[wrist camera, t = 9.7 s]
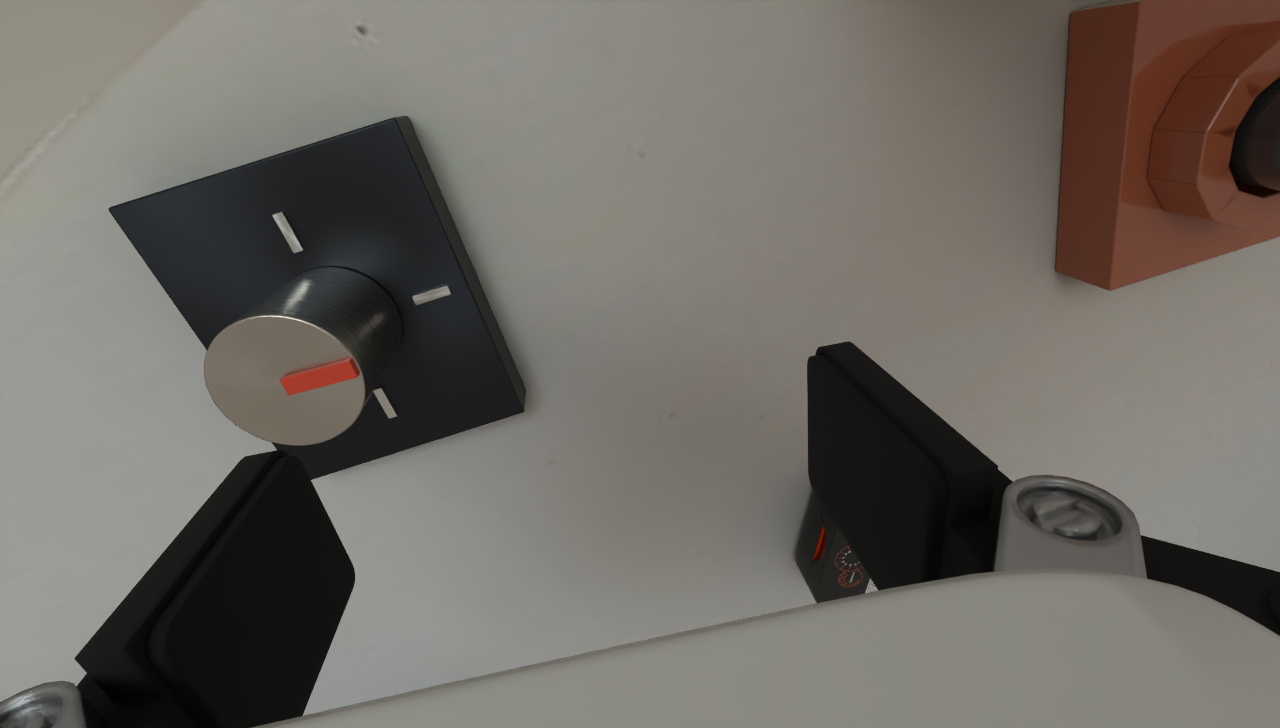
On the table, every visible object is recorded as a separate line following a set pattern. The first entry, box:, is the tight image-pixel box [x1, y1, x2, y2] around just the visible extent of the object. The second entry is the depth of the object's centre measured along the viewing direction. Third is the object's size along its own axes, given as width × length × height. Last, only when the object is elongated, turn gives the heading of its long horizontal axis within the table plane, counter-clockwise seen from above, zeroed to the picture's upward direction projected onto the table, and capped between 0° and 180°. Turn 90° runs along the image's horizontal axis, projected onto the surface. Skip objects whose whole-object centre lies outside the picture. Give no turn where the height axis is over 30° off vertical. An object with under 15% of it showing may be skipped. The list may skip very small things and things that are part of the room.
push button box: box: [1056, 0, 1280, 290], centre depth 23 cm, size 11×9×5 cm
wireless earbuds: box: [795, 492, 870, 603], centre depth 31 cm, size 5×7×3 cm, turn 174°
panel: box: [109, 116, 526, 480], centre depth 22 cm, size 12×10×2 cm
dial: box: [204, 267, 402, 445], centre depth 19 cm, size 4×4×5 cm
